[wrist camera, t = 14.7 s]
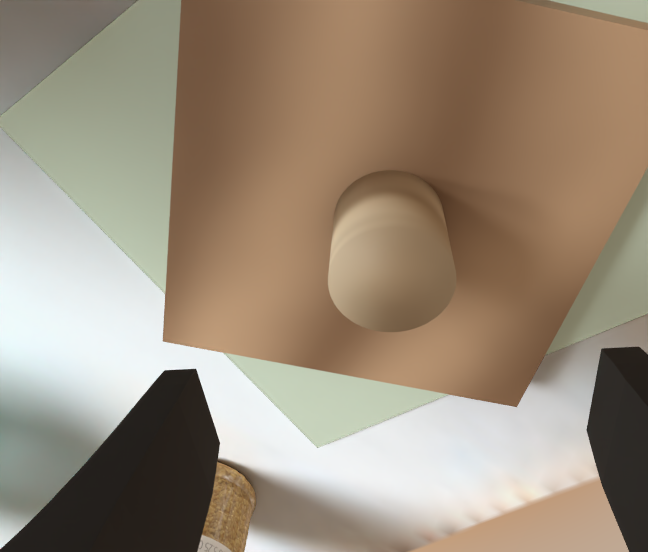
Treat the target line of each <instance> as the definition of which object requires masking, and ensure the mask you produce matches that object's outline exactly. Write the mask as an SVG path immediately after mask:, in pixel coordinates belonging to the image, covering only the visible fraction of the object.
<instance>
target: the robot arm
mask: <svg viewBox="0 0 648 552" xmlns="http://www.w3.org/2000/svg"><path fill="white" fill-rule="evenodd" d="M587 433H588V437H589V440H590V444H591V448H592V452H593V456H594V459H595V463H596V466H597V470H598V473H599V477H600V480H601V483H602V486H603V489H604V491H605V494H606V496H607V499H608V501H609V504H610V506H611V509H612V511H613V513H614V516H615V518H616V521H617V523H618V526H619V528H620V530H621V532H622V535H623V537H624V540H625V542H626V545H627V547H628V550H629V552H648V354H646V353H645V352H644V351H643V350H642V349H641V348H640V347H624V348H604V349H601V354H600V360H599V365H598V371H597V376H596V382H595V387H594V393H593V398H592V404H591V409H590V414H589V420H588V425H587ZM219 445H220V442H219V439H218V436H217V433H216V429H215V426H214V423H213V420H212V417H211V414H210V411H209V408H208V405H207V402H206V398H205V395H204V392H203V389H202V386H201V383H200V380H199V377H198V374H197V370H196V369H184V370H165V371H164V372H163V373H162V374H161V375H160V376H159V377H158V379H157V380H156V381H155V382H154V383H153V384H152V386H151V387H150V388H149V389H148V390H147V392H146V393H145V394H144V395H143V396H142V398H141V399H140V400H139V401H138V402H137V404H136V405H135V406H134V407H133V408H132V410H131V411H130V412H129V413H128V414H127V416H126V417H125V418H124V419H123V420H122V422H121V423H120V424H119V425H118V426H117V428H116V429H115V430H114V431H113V432H112V433H111V435H110V436H109V437H108V438H107V439H106V440H105V441H104V443H103V444H102V445H101V446H100V447H99V448H98V450H97V451H96V452H95V453H94V454H93V455H92V456H91V458H90V459H89V460H88V461H87V462H86V463H85V464H84V466H83V467H82V468H81V469H80V470H79V471H78V472H77V473H76V474H75V475H74V476H73V477H72V479H71V480H70V481H69V482H68V483H67V484H66V485H65V486H64V487H63V488H62V489H61V490H60V491H59V492H58V493H57V494H56V495H55V497H54V498H53V499H52V500H51V501H50V502H49V503H48V504H47V505H46V506H45V507H44V508H43V509H42V510H41V511H40V512H39V513H38V514H37V515H36V516H35V517H34V518H33V519H32V520H31V521H30V522H29V523H28V524H27V525H26V526H25V527H24V528H23V529H22V530H21V531H20V532H19V533H18V534H17V535H15V536H14V537H13V538H12V539H11V540H10V541H9V542H8V543H7V544H6V545H5V546H3V547H2V548H1V549H0V552H197V551H198V547H199V544H200V540H201V536H202V533H203V529H204V525H205V521H206V518H207V514H208V510H209V506H210V502H211V498H212V494H213V488H214V481H215V475H216V468H217V461H218V453H219Z"/></svg>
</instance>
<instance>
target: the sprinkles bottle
mask: <svg viewBox="0 0 648 552" xmlns="http://www.w3.org/2000/svg"><path fill="white" fill-rule="evenodd" d="M255 506H256V496H255V492H254V489H253V487H252V486H251V485H250V484H249V482H248V481H247V480H246V478H245V477H244V475H242V474H240V473H239V472H238V471H236V470H234V469H233V468H231V467H229V466H227V465H224V464H222V463H219V462H217V468H216V475H215V481H214V488H213V494H212V498H211V502H210V506H209V510H208V514H207V518H206V521H205V525H204V529H203V533H202V536H201V540H200V544H199V547H198V551H197V552H244V550H245V546H246V539H247V535H248V529H249V523H250V518H251V516H252V514H253V511H254V509H255Z"/></svg>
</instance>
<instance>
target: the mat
mask: <svg viewBox="0 0 648 552" xmlns="http://www.w3.org/2000/svg"><path fill="white" fill-rule="evenodd" d="M549 1H554V2H558V3H562V4H567V5H571V6H575V7H580V8H584V9H589V10H593V11H597V12H602V13H606V14H611V15H615V16H619V17H624V18H628V19H633V20H637V21H641V22H646V23H648V0H549ZM180 13H181V0H138V1H136V2H135V3H134V4H133V5H132V6H130V7H129V8H128V9H127V10H126V11H125V12H123V13H122V14H121V15H120V16H119V17H117V18H116V19H115V20H114V21H113V22H111V23H110V24H109V25H108V26H107V27H106V28H104V29H103V30H102V31H101V32H100V33H98V34H97V35H96V36H95V37H94V38H92V39H91V40H90V41H89V42H88V43H87V44H85V45H84V46H83V47H82V48H81V49H79V50H78V51H77V52H76V53H75V54H73V55H72V56H71V57H70V58H69V59H68V60H66V61H65V62H64V63H63V64H62V65H60V66H59V67H58V68H57V69H56V70H54V71H53V72H52V73H51V74H50V75H48V76H47V77H46V78H45V79H44V80H43V81H41V82H40V83H39V84H38V85H37V86H35V87H34V88H33V89H32V90H31V91H29V92H28V93H27V94H26V95H25V96H24V97H22V98H21V99H20V100H19V101H18V102H16V103H15V104H14V105H13V106H12V107H10V108H9V109H8V110H7V111H6V112H5V113H3V114H2V115H1V116H0V127H1V128H2V129H3V130H4V132H5V133H6V134H7V135H8V136H9V137H10V138H11V139H12V140H13V141H14V142H15V143H16V144H17V145H18V146H19V147H20V148H21V149H22V150H23V151H24V152H25V153H26V154H27V155H28V156H29V157H30V158H31V159H32V160H33V161H34V162H35V163H36V164H37V165H38V166H39V167H40V168H41V169H42V170H43V171H44V172H45V173H46V174H47V175H48V176H49V177H50V178H51V179H52V180H53V181H54V182H55V183H56V184H57V185H58V186H59V187H60V188H61V189H62V190H63V191H64V192H65V193H66V194H67V195H68V196H69V197H70V198H71V199H72V200H73V201H74V202H75V203H76V204H77V205H78V206H79V207H80V208H81V209H82V210H83V211H84V212H85V213H86V214H87V215H88V216H89V217H90V218H91V220H92V221H93V222H94V223H95V224H96V225H97V226H98V227H99V228H100V229H101V230H102V231H103V232H104V233H105V234H106V235H107V236H108V237H109V238H110V239H111V240H112V241H113V242H114V243H115V244H116V245H117V246H118V247H119V248H120V249H121V250H122V251H123V252H124V253H125V254H126V255H127V256H128V257H129V258H130V259H131V260H132V261H133V262H134V263H135V264H136V265H137V266H138V267H139V268H140V269H141V270H142V271H143V272H144V273H145V274H146V275H147V276H148V277H149V278H150V279H151V280H152V281H153V282H154V283H155V284H156V285H157V286H158V287H159V288H160V289H161V290H162V291H163V292H164V293H165V292H166V273H167V254H168V236H169V217H170V199H171V180H172V162H173V143H174V124H175V106H176V87H177V69H178V50H179V31H180ZM646 314H648V167H647V169H646V171H645V173H644V175H643V177H642V178H641V180H640V182H639V184H638V186H637V188H636V189H635V191H634V193H633V195H632V197H631V199H630V200H629V202H628V204H627V206H626V208H625V210H624V211H623V213H622V215H621V217H620V219H619V221H618V222H617V224H616V226H615V228H614V230H613V232H612V233H611V235H610V237H609V239H608V241H607V243H606V244H605V246H604V248H603V250H602V252H601V253H600V255H599V257H598V259H597V261H596V263H595V264H594V266H593V268H592V270H591V272H590V274H589V275H588V277H587V279H586V281H585V283H584V285H583V286H582V288H581V290H580V292H579V294H578V296H577V297H576V299H575V301H574V303H573V305H572V307H571V308H570V310H569V312H568V314H567V316H566V318H565V319H564V321H563V323H562V325H561V327H560V329H559V330H558V332H557V334H556V336H555V338H554V340H553V341H552V343H551V345H550V347H549V349H548V351H547V352H546V354H545V355H548V354H550V353H552V352H555V351H557V350H560V349H562V348H565V347H567V346H570V345H572V344H575V343H577V342H580V341H582V340H584V339H587V338H589V337H592V336H594V335H597V334H599V333H602V332H604V331H607V330H609V329H612V328H614V327H616V326H619V325H621V324H624V323H626V322H629V321H631V320H634V319H636V318H639V317H641V316H644V315H646ZM224 354H225V355H226V356H227V357H228V358H229V359H230V360H231V361H232V362H233V363H234V364H235V365H236V366H237V367H238V368H239V369H240V370H241V371H242V372H243V373H244V374H245V375H246V376H247V377H248V378H249V379H250V380H251V381H252V382H253V383H254V384H255V385H256V386H257V387H258V388H259V389H260V390H261V391H262V392H263V393H264V394H265V396H266V397H267V398H268V399H269V400H270V401H271V402H272V403H273V404H274V405H275V406H276V407H277V408H278V409H279V410H280V411H281V412H282V413H283V414H284V415H285V416H286V417H287V418H288V419H289V420H290V421H291V422H292V423H293V424H294V425H295V426H296V427H297V428H298V429H299V430H300V431H301V432H302V433H303V434H304V435H305V436H306V437H307V438H308V439H309V440H310V441H311V442H312V443H313V444H314V445H315V446H316V447H317V448H319V447H321V446H324V445H326V444H328V443H331V442H333V441H336V440H338V439H341V438H343V437H346V436H348V435H351V434H353V433H356V432H358V431H360V430H363V429H365V428H368V427H370V426H373V425H375V424H378V423H380V422H383V421H385V420H388V419H390V418H392V417H395V416H397V415H400V414H402V413H405V412H407V411H410V410H412V409H415V408H417V407H420V406H422V405H424V404H427V403H429V402H432V401H434V400H437V399H439V398H442V397H444V396H447V395H449V394H444V393H439V392H433V391H428V390H422V389H417V388H412V387H406V386H401V385H395V384H390V383H385V382H379V381H374V380H368V379H363V378H358V377H352V376H347V375H342V374H336V373H331V372H325V371H320V370H315V369H309V368H304V367H298V366H293V365H288V364H282V363H277V362H271V361H266V360H261V359H255V358H250V357H245V356H239V355H234V354H228V353H224Z"/></svg>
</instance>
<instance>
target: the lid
mask: <svg viewBox="0 0 648 552" xmlns="http://www.w3.org/2000/svg"><path fill="white" fill-rule="evenodd" d="M647 167H648V23H646V22H641V21H637V20H633V19H628V18H624V17H619V16H615V15H611V14H606V13H602V12H597V11H593V10H589V9H584V8H580V7H575V6H571V5H567V4H562V3H558V2H554V1H549V0H181V13H180V31H179V50H178V69H177V87H176V106H175V124H174V143H173V162H172V180H171V199H170V217H169V236H168V254H167V273H166V292H165V310H164V329H163V341H164V342H169V343H174V344H180V345H185V346H191V347H196V348H201V349H207V350H212V351H218V352H223V353H228V354H234V355H239V356H245V357H250V358H255V359H261V360H266V361H271V362H277V363H282V364H288V365H293V366H298V367H304V368H309V369H315V370H320V371H325V372H331V373H336V374H342V375H347V376H352V377H358V378H363V379H368V380H374V381H379V382H385V383H390V384H395V385H401V386H406V387H412V388H417V389H422V390H428V391H433V392H439V393H444V394H449V395H455V396H460V397H466V398H471V399H476V400H482V401H487V402H492V403H498V404H503V405H509V406H514V407H517V405H518V404H519V402H520V400H521V398H522V396H523V394H524V393H525V391H526V389H527V387H528V385H529V383H530V382H531V380H532V378H533V376H534V374H535V372H536V371H537V369H538V367H539V365H540V363H541V361H542V360H543V358H544V356H545V354H546V352H547V351H548V349H549V347H550V345H551V343H552V341H553V340H554V338H555V336H556V334H557V332H558V330H559V329H560V327H561V325H562V323H563V321H564V319H565V318H566V316H567V314H568V312H569V310H570V308H571V307H572V305H573V303H574V301H575V299H576V297H577V296H578V294H579V292H580V290H581V288H582V286H583V285H584V283H585V281H586V279H587V277H588V275H589V274H590V272H591V270H592V268H593V266H594V264H595V263H596V261H597V259H598V257H599V255H600V253H601V252H602V250H603V248H604V246H605V244H606V243H607V241H608V239H609V237H610V235H611V233H612V232H613V230H614V228H615V226H616V224H617V222H618V221H619V219H620V217H621V215H622V213H623V211H624V210H625V208H626V206H627V204H628V202H629V200H630V199H631V197H632V195H633V193H634V191H635V189H636V188H637V186H638V184H639V182H640V180H641V178H642V177H643V175H644V173H645V171H646V169H647Z"/></svg>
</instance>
